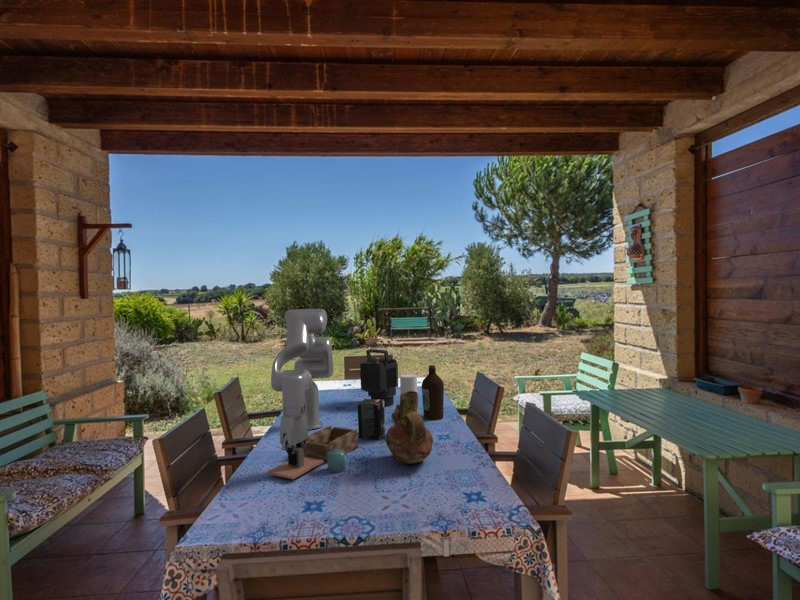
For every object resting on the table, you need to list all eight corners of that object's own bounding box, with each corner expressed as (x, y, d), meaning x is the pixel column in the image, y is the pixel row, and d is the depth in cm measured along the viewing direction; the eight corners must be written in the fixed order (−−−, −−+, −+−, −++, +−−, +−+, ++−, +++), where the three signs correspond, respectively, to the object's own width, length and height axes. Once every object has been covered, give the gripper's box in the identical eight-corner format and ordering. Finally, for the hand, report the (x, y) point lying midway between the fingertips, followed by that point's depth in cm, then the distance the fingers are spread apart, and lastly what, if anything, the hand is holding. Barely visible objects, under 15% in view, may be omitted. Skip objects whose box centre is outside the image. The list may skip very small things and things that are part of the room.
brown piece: (299, 457, 170) (298, 439, 170) (323, 462, 165) (322, 443, 165) (267, 473, 155) (266, 453, 155) (293, 479, 150) (292, 458, 150)
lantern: (401, 402, 253) (399, 347, 252) (383, 410, 238) (381, 352, 237) (379, 399, 261) (377, 346, 260) (359, 407, 246) (357, 350, 245)
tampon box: (379, 440, 191) (378, 404, 190) (358, 439, 193) (356, 404, 192) (385, 432, 201) (384, 398, 201) (365, 431, 203) (364, 398, 203)
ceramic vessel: (415, 445, 183) (413, 382, 182) (447, 467, 159) (445, 395, 159) (374, 452, 176) (372, 387, 176) (401, 477, 152) (399, 401, 152)
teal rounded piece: (324, 471, 159) (323, 454, 159) (334, 465, 165) (334, 448, 164) (338, 474, 157) (338, 456, 156) (348, 467, 162) (348, 450, 162)
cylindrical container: (406, 437, 193) (404, 377, 192) (398, 433, 199) (397, 375, 199) (421, 434, 196) (419, 376, 195) (413, 430, 202) (411, 373, 202)
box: (331, 443, 189) (330, 425, 188) (357, 447, 183) (357, 428, 182) (302, 458, 173) (301, 438, 173) (330, 463, 167) (329, 442, 167)
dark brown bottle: (438, 413, 229) (436, 363, 228) (448, 418, 219) (447, 366, 219) (418, 416, 225) (417, 365, 224) (428, 421, 215) (427, 368, 214)
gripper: (300, 403, 168) (302, 453, 169) (269, 414, 154) (271, 469, 155) (317, 405, 165) (319, 456, 165) (286, 417, 151) (288, 473, 151)
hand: (296, 462), depth 160 cm, fingers open, 2 cm apart
